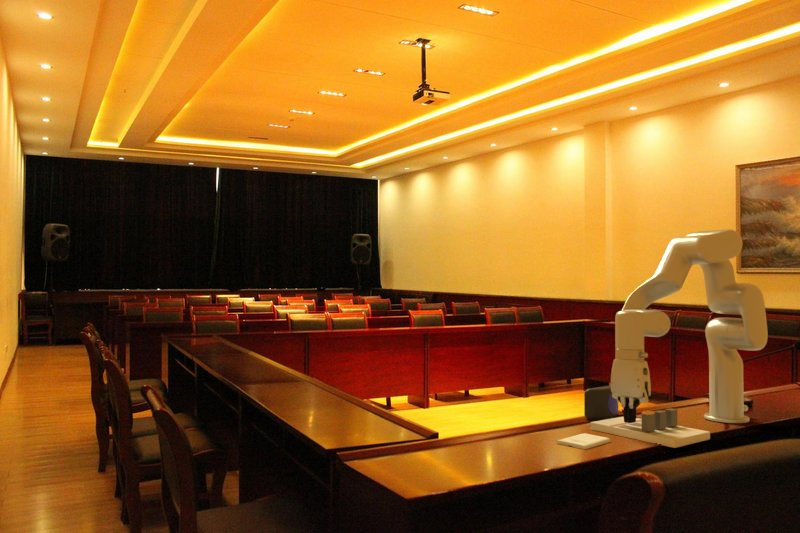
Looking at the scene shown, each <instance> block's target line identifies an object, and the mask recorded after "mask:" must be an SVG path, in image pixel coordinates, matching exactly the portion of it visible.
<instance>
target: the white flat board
mask: <svg viewBox="0 0 800 533" xmlns="http://www.w3.org/2000/svg"><path fill="white" fill-rule="evenodd" d="M589 424H590V430H591V431H597V432H601V433H606V434H610V435H615V436H619V437H624V438H628V439H632V440H637V441H642V442H646V443H651V444H655V443H657V444H656V445H659V444H661V445H660V446H664V447H668V448H673V449H676V448H680V447H685V446H689V445H693V444H696V443H701V442H705V441H709V440H711V431H708V430H703V429H697V428H692V427H687V426H681V425H677V426H674V427H669V426H666V428H664V429H656V428H655V431H650V432H646V431H642V418H639V417H636V422H633V423H628V422H624V417H623V416H616V417H613V418H608V419H599V420H594V421H591V422H590V423H589Z"/></svg>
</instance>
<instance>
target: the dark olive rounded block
mask: <svg viewBox="0 0 800 533" xmlns="http://www.w3.org/2000/svg"><path fill="white" fill-rule="evenodd" d="M583 401H584V405H583V406H584V410H583V412H584V417H585V418H586V419H587V420H589V421H590V420H592V421H600V420H606V419H611V418H616V417H618V414H619V403H620V402H619V400H617V399H615V398H613V397H612V392H611V385H604V386H598V387H592V388H587V389H586V390H585V391H584V397H583Z"/></svg>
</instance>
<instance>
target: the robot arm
mask: <svg viewBox="0 0 800 533" xmlns="http://www.w3.org/2000/svg"><path fill="white" fill-rule="evenodd" d="M742 249H743V238H742V236H741V235H740V233H739V232H737V231H736V230H734V229H729V228H727V229H715V230H699V231H693V232H690V233H688V234H686V235H685V236H684V235H683V236H678V237H677V236H676V237H674V238H672V239H671V240H669V242H668V243H667V245H666V248H665V249H664V251H663V253H662V256H661V258H660V261H658V262H659V263H658V264H657V266H656V269H655V271H654V273H653V275H652V276H651V277H649V278H648V279H646V280H645V281H644V282H643V283H642V284H641V285H639V286H638V287H636V288H635V290H633V291H632V292H631V293H630V294H629V296H628V297H627V299H626V300H625V302H624V305H623V307H622V309H621V310H619V311H617V312H616V314H615V319H614V320H615V321H614V323H615V326H614V327H615V328H614V330H615V331H614V332H615V334H614V335H615V338H614V340H615V345H614V346H615V349H614V350H615V352H614V353H615V357H614V358H615V359H613V362H612V367H611V371H610V372H611V374H610V386H611V392H612V397H613V398H615V399H617V400H619V403H620V406H621V407H622V408H623V413H622V414H623V415H622V417H624V422H628V423H633V422H636V418H637V409H638V408H639V406H640V405H641V404H647V403H649V397H651V394H652V389H651V387H652V385H651V374H650V369H649V365H648V361H646V360H645V359H647V358H648V357H649V353H648V352H645V337H650V338H660V337H663V336H665V335H666V334H667V333H668V332H669V330H670V328H671V326H672V323H671V319H670V317H669V316H668V314H666V313H665V312H663V311H661V310H657V309H647V308H648V307H649V306H650V305H651V304H653V303H655V302H656V301H658V300H661V299H663V298H667V297H669V296H671V295H673V294H676V293H677V292H680V290H681V289H682V287H683V285H684V283H685V282H686V279H687V277H688V275H689V272H690V271H691V268H692V267H693V266H694V265H699V266H700V268H701V269H702V272H703V278H704V286H705V295H706V303H707V307H708V309H709V310H710V311H711V312H712V313H716V314H722V315H737V316H738V315H740V316H741V318H740V317H739V318H738V317H715V318H713V319H711V320H710V321H708V322H707V324H706V326H705V330H704V333H705V339H706V343H707V349H708V370H709V371H708V373H709V375H708V378H709V379H708V381H709V382H708V383H709V384H708V386H709V388H708V389H709V390H708V392H709V394H708V395H709V396H708V397H709V400H708V402H709V405H708V406H709V407H708V408H709V412H705V413H704V414H703V417H704V419H707V420H708V421H711V422H717V423H718V422H719V423H725V424H747V423H749V422H750V417H749V416H747V415H745V414H744V412H747V411H748V410H749V406H748V405H746V404H744V403H745V402H744V401H745V400H744V396H745V395H744V391H745V390H744V362H743V358H742V357H741V355H740V354H739V352H738V350H741V351H752V352H753V351H756V352H757V351H761V350H762V349H764V348H765V346H766V345H767V343H768V336H769V334H768V323H767V314H766V305H765V297H764V294H763V292H762V291H761V289H760V288H759V287H758V286H757V285H756V284H753V283H746V282H744V283H742V282H740V283H739V282H737V281H736V278H735V277H736V276H735V269H734V266H733V263H732V262H731V261H730V259H734V258H736V257H737V256H738V255H739V254H740V253H741V251H742Z"/></svg>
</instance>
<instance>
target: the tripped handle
mask: <svg viewBox="0 0 800 533" xmlns="http://www.w3.org/2000/svg"><path fill="white" fill-rule="evenodd" d="M655 411H656V410H655ZM655 411H654V410H648V409H647V410H643V411H641V419H642V431H646V432H650V431H655Z"/></svg>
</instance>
